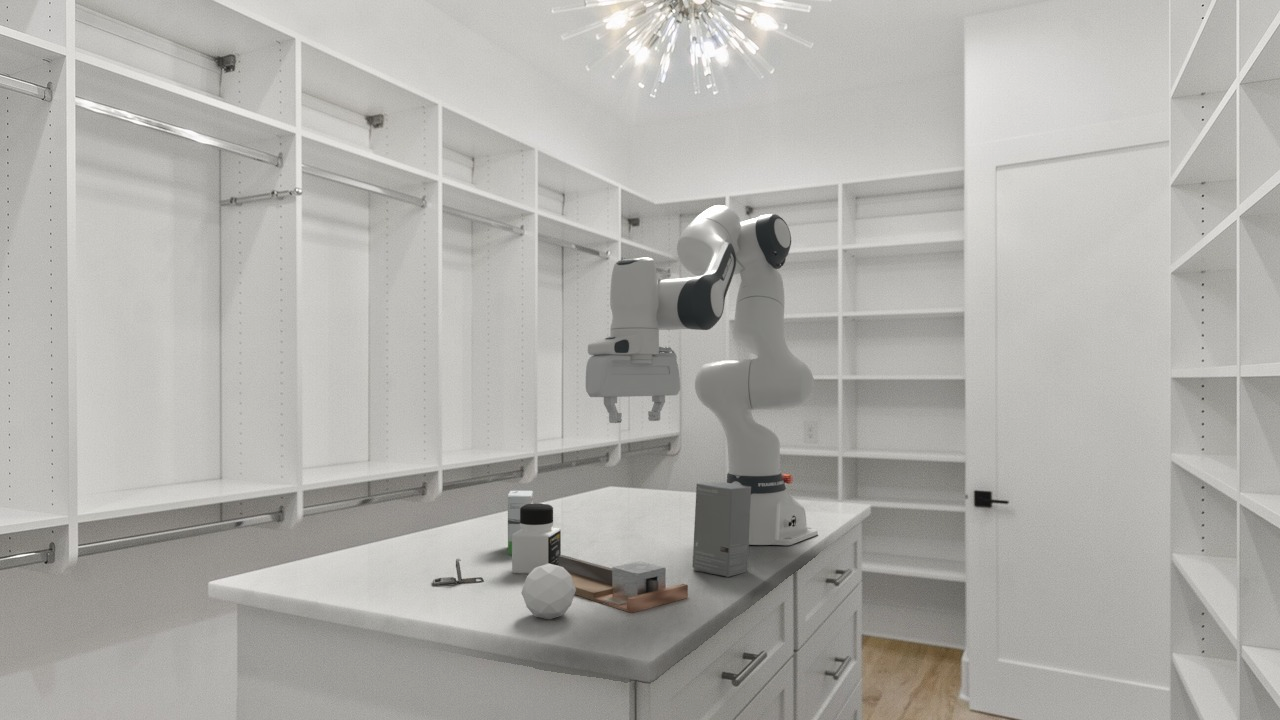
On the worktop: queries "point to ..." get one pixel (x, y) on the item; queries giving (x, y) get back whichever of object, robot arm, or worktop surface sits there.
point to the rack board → (598, 587)
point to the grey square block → (636, 578)
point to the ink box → (516, 512)
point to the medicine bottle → (535, 539)
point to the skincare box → (721, 528)
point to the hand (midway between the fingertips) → (635, 421)
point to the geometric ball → (548, 591)
